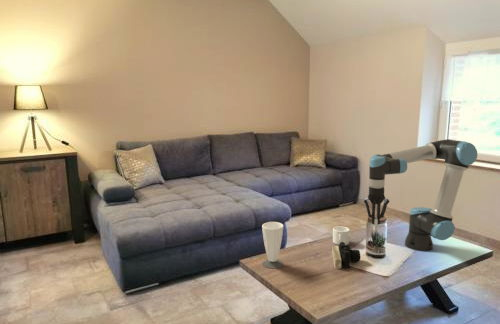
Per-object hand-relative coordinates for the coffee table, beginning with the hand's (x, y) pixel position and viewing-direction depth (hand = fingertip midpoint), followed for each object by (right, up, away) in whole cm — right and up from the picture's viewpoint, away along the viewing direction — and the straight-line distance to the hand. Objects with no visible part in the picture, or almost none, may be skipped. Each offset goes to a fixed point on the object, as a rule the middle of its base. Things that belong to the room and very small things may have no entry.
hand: (375, 229), depth 196 cm
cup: (-54, -19, +3) cm, 57 cm away
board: (-19, -18, +6) cm, 27 cm away
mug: (-11, -14, +28) cm, 33 cm away
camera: (-13, -19, +4) cm, 23 cm away
